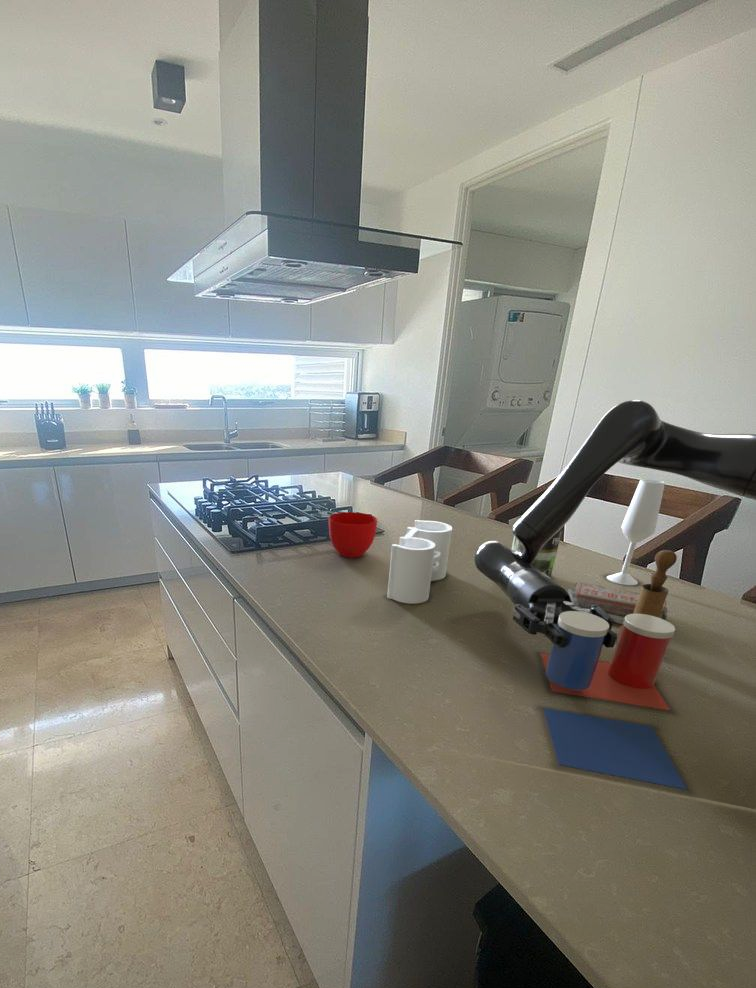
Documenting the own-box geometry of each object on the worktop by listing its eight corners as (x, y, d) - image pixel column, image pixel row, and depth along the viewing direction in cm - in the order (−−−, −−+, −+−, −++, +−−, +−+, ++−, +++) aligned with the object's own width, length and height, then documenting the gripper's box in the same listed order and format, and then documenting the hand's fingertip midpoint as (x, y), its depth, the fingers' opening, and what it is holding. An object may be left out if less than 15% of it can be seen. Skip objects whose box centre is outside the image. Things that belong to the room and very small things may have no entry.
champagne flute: (643, 581, 118) (675, 482, 108) (630, 587, 115) (662, 485, 105) (614, 573, 123) (643, 477, 114) (601, 578, 120) (629, 480, 110)
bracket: (426, 607, 103) (433, 553, 98) (382, 598, 106) (387, 545, 101) (449, 570, 123) (456, 523, 118) (411, 563, 127) (416, 518, 122)
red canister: (646, 670, 81) (665, 616, 77) (661, 692, 75) (683, 635, 71) (602, 663, 83) (619, 611, 78) (613, 685, 77) (632, 629, 73)
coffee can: (553, 573, 122) (566, 518, 117) (547, 586, 114) (561, 528, 109) (510, 565, 127) (521, 512, 122) (502, 577, 119) (513, 521, 113)
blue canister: (586, 670, 78) (602, 614, 73) (596, 693, 72) (615, 634, 68) (541, 663, 79) (555, 608, 75) (548, 686, 73) (563, 627, 69)
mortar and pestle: (619, 647, 88) (650, 553, 81) (613, 632, 94) (641, 542, 86) (661, 654, 86) (697, 559, 79) (653, 638, 92) (685, 547, 84)
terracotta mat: (642, 669, 82) (642, 667, 82) (670, 711, 71) (670, 710, 71) (540, 654, 86) (540, 653, 86) (551, 692, 75) (552, 691, 75)
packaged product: (668, 593, 99) (671, 611, 92) (661, 615, 101) (663, 634, 94) (571, 575, 108) (566, 590, 100) (566, 595, 110) (560, 611, 102)
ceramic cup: (384, 546, 140) (387, 512, 136) (366, 564, 126) (368, 527, 122) (341, 540, 145) (343, 507, 141) (320, 557, 131) (321, 520, 126)
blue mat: (651, 727, 68) (651, 726, 68) (687, 791, 57) (687, 789, 57) (543, 709, 71) (543, 707, 71) (558, 766, 61) (558, 764, 61)
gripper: (499, 575, 84) (545, 618, 68) (581, 575, 84) (645, 619, 69) (492, 614, 87) (534, 664, 71) (571, 614, 87) (630, 664, 72)
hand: (588, 642), depth 70 cm, fingers closed on blue canister, 6 cm apart
